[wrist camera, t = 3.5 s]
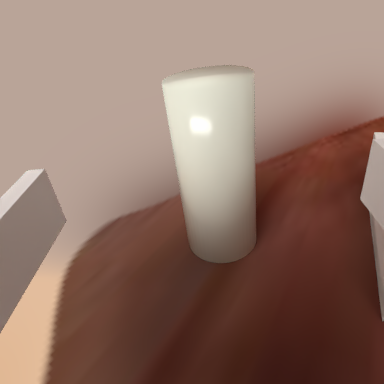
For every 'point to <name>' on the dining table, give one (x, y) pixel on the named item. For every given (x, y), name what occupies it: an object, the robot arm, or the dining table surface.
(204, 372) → the dining table surface
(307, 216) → the dining table surface
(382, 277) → the tote
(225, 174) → the canister
